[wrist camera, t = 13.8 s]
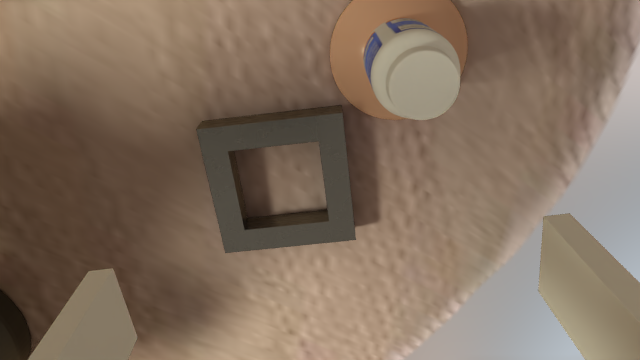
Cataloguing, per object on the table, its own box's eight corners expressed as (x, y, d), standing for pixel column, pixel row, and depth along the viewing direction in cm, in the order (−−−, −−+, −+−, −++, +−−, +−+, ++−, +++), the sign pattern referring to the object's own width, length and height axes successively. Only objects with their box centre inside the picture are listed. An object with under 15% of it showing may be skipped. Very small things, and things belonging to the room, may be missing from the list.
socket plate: (229, 240, 44) (225, 252, 42) (202, 121, 39) (196, 129, 37) (354, 227, 43) (355, 239, 41) (341, 105, 39) (342, 112, 37)
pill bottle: (391, 105, 38) (413, 152, 29) (347, 49, 36) (355, 82, 27) (451, 58, 36) (493, 93, 28) (408, -2, 35) (437, 16, 26)
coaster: (337, 124, 39) (337, 126, 39) (322, -11, 35) (322, -11, 34) (465, 109, 39) (467, 112, 38) (465, -29, 35) (468, -29, 34)
